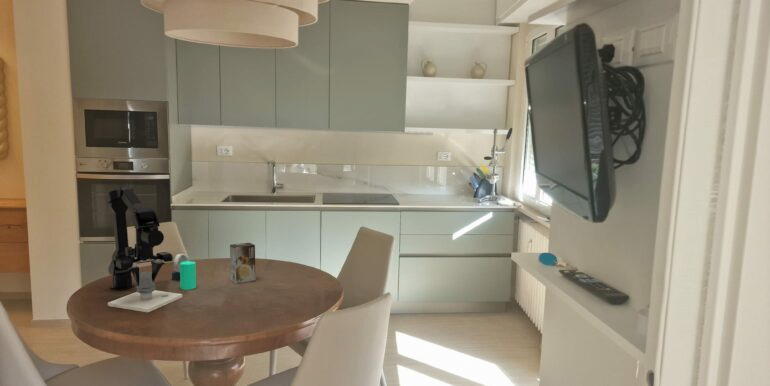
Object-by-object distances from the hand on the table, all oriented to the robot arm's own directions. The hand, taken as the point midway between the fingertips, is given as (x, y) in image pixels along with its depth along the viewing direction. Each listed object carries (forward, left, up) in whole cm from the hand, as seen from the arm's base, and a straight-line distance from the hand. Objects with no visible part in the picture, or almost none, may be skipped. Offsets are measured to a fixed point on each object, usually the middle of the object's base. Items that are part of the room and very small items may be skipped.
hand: (145, 282), depth 189 cm
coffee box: (+18, +37, -8) cm, 42 cm away
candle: (+3, +20, -8) cm, 22 cm away
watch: (-8, +29, -8) cm, 31 cm away
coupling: (0, 0, -3) cm, 3 cm away
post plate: (0, 0, -8) cm, 8 cm away
